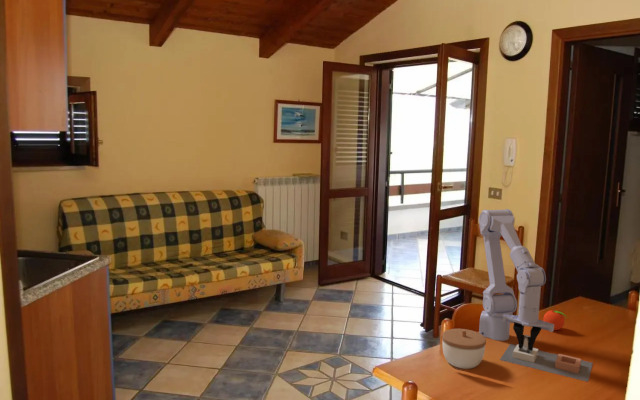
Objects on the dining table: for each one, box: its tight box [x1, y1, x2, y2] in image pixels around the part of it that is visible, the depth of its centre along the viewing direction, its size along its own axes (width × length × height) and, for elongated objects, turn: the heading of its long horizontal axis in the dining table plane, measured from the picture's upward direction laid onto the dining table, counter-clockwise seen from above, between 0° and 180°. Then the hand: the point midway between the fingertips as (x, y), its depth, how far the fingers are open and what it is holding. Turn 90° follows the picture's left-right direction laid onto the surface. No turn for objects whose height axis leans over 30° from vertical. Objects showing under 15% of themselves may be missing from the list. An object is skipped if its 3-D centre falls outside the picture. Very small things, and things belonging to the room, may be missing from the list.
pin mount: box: [513, 344, 539, 363], centre depth 158 cm, size 6×6×2 cm
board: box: [499, 343, 594, 382], centre depth 155 cm, size 24×14×1 cm, turn 57°
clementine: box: [542, 309, 567, 331], centre depth 181 cm, size 8×7×7 cm
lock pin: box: [521, 334, 530, 354], centre depth 157 cm, size 2×2×6 cm
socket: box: [555, 353, 582, 373], centre depth 151 cm, size 6×6×2 cm
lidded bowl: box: [441, 328, 487, 372], centre depth 153 cm, size 13×13×11 cm
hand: (525, 348), depth 158 cm, fingers closed on lock pin, 2 cm apart
